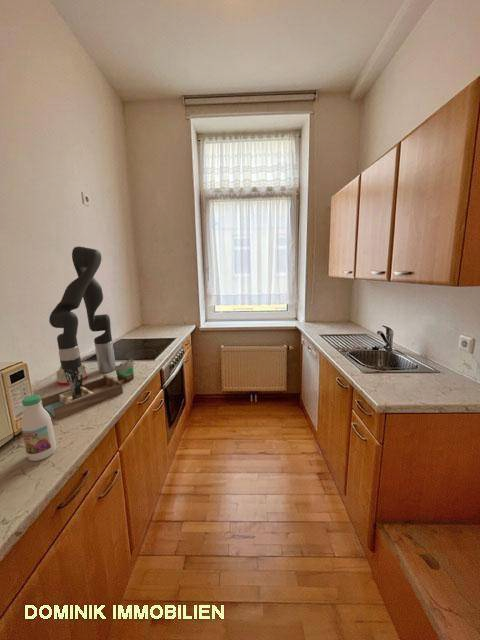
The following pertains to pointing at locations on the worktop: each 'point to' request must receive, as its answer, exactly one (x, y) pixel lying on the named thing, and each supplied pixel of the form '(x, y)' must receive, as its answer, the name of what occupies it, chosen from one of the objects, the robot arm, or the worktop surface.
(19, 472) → the worktop surface
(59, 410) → the bay
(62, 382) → the kitchen timer
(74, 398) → the grey beige boxy piece
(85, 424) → the worktop surface
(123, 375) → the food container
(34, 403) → the milk bottle
